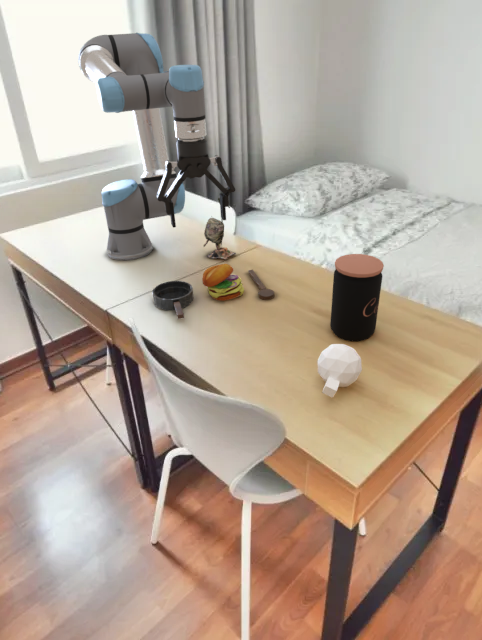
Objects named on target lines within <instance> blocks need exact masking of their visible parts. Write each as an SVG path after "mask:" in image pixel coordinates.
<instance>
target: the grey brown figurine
mask: <svg viewBox="0 0 482 640" xmlns="http://www.w3.org/2000/svg"><path fill="white" fill-rule="evenodd" d="M217 200H218V203H219V205H220V196H219V197H218V198H217ZM227 208H228V209H230V208H231V206H230V205H229V206H228V207H227ZM220 219H221V220H219V219H217V218H215V217H213V216H212V215H211V217H209V219H207V222H206V224H205V228H204V233H203V235H204V237H205V240H206V241H205V243H204V244H203V248H204V247H206V246H207V245H208V243H209V242H211V243H212V244H215V249H214V250H212V251H211V253H209V254H207V255H206V257H207V258H210V259H217V258H218V259H224V260H228V259H229V257H231V256H234V255H236V254H237V253H236V252H234V251H233V252H232V251H230V250H228V247H225V246H224V247H223V239H224V237H225V224H224V222H223V221H224V220H223V219H222V218H221V217H220Z"/></svg>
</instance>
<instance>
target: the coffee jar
mask: <svg viewBox="0 0 482 640" xmlns="http://www.w3.org/2000/svg"><path fill="white" fill-rule="evenodd" d="M384 267H385V265H384V262H383V261H382V260H381V259H380V258H377V257H375V256H373V255H371V254H370V255H369V254H364V253H350V254H344V255H341V256H339V257H337V258H336V259H335V261H334V268H335V270H334V272H333V280H332V294H331V295H332V296H331V309H330V321H329V322H330V323H329V325H330V326H329V327H330V330H331V331H332V334H334V336H335V337H337V338H338V339H340V340H343V341H346V342H350V343H352V342H354V343H358V342H364V341H366V340H368V339H370V338H371V337H372V336H373V335H374V333H375V332H376V327H377V320H378V313H379V306H380V305H379V304H380V297H381V290H382V282H383V273H382V272H383V270H384Z"/></svg>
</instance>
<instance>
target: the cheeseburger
mask: <svg viewBox="0 0 482 640" xmlns="http://www.w3.org/2000/svg"><path fill="white" fill-rule="evenodd" d="M233 272H234V268H233V266H231V265H230V264H229V263H221V264H217V265H212V266H209V267H207V268H206V269H205V270H204V271H203V273H202V279H201V282H202V285H203V286H204V287H206V288H207V291H208V294H209V295H210V296H211V297H212V299H214V300H216V301H220V302H221V301H222V302H223V301H229V300H233V299H235V298H238V297H242V295H243V294H244V293H245V288H244V286H243V283H242V278H241V277H240V276H239V275H238V274H232V273H233Z"/></svg>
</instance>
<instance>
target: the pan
mask: <svg viewBox="0 0 482 640" xmlns="http://www.w3.org/2000/svg"><path fill="white" fill-rule="evenodd" d="M151 293H152V300H153V304H154V305H155V307H156V308H158V309H160V310H162V311H163V310H164V311H175V308H174V304H173V302H178V301H179V302H180V305H181V308H182V309H185V308H187V307H188V306H190V305H191V304H192V303H193V302H194V299H195V296H194V295H195V294H194V287H193V285H192V284H191V283H190V282H187V281H183V280H171V281H166V282H162V283H160V284H158V285H156V286H155V287H153V289H152V292H151Z"/></svg>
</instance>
